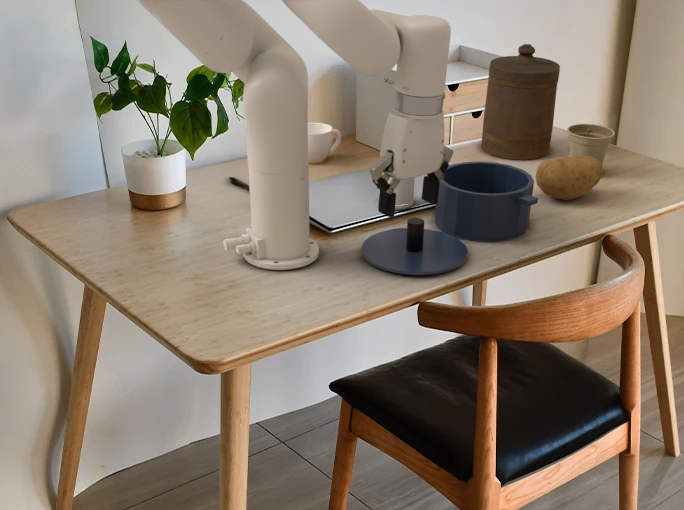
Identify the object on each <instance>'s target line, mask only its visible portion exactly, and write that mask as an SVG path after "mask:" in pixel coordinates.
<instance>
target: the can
mask: <svg viewBox="0 0 684 510" xmlns="http://www.w3.org/2000/svg"><path fill="white" fill-rule="evenodd" d="M379 151H380V153H379V155H380V154H381V150H379ZM393 173H396V171H394V172H393ZM383 174H384V173H382V175H383ZM392 179H393V178H392V177H390V178H389V180H388V184H390V182H391V180H392ZM415 179H416V177H414V178H409V179H405V180H400V182H399V184H398V185H397V187H396V188H395V190H394V191H393V192H394V193H396V203H395V205H402V204H408V205H403V206H395V211H405V210H408V209H409V208H411V207H412V206H413V205H414V198H415V197H414V196H415ZM379 194H380V189H378V195H379ZM411 202H412V203H411ZM409 203H410V204H409Z"/></svg>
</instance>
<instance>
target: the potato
mask: <svg viewBox="0 0 684 510" xmlns="http://www.w3.org/2000/svg"><path fill="white" fill-rule="evenodd" d="M603 175H604V169H603V164H602V163H601V161H600V160H598V159H596V158H594V157H591V156H570V155H569V156H561V157H555V158H548V159H545V160H544V161H542V162H540V164H539V165H538V166H537V169H536V172H535V181H536V185H537V187H538V188H539V189H540V191H541V192H543V194H545V195H547V196H549V197H551V198H553V199H556V200H562V201H571V200H576V199H579V198H581V197H582V196H583V195H585V194H587V193H589V192H590V191H591V190H592V189H593V188H594V187H596V185H598V183H599V182H600V181H601V179H602V177H603Z"/></svg>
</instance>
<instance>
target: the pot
mask: <svg viewBox="0 0 684 510" xmlns="http://www.w3.org/2000/svg"><path fill="white" fill-rule="evenodd" d="M443 175H444V178H443V180H442V181H439V182H440V187H439V195H438V203H437V204H436V205H434V223H435V225H436V227H437V228H438V229H439V230H441V232H443V233H446V234H449V235H451V236H453V237H455V238H457V239H462V240H467V241H474V242H492V243H493V242H502V241H508V240H509V241H510V240H512V239H515V238H519V237H520V236H522V235H524V234H525V233H526V231H527V230H528V227H529V225H530V217H531V210H532V206H534V205H536V204H538V202H539V197H537V196H533V193H534V184H535V180H534V178H533V176H532V174H531V173H529V172H527V171H526V170H524V169H522V168H519V167H516V166H513V165H512V164H511V165H510V164H505V163H501V162H500V163H499V162H494V161H491V162H490V161H479V160H477V161H463V162H458V163H452V164H449V166H448V168H447V170H446V171H445V172H444V174H443Z"/></svg>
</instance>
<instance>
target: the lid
mask: <svg viewBox="0 0 684 510" xmlns="http://www.w3.org/2000/svg"><path fill="white" fill-rule="evenodd" d="M361 255H362V257H363V258H364V260H365V261H367V262H368V263H369V264H371V265H372V266H373V267H376V268H378V269H381V270H383V271H386V272H390V273H394V274H395V273H396V274H399V275H400V274H401V275H409V276H427V275H437V274H442V273H447V272H450V271H451V270H452V271H453V270H455V269H457V268H459V267H460V266H461V265H463V264H464V263H465V262H466V260H467V259H468V248H467V246H466V244H465V243H464V242H463V241H462V240H460V238H458V237H454V236H452V235H449V234H447V233H445V232H443V231H439V230H435V229H429V228H425V220H424V219H423V218H420V217H411V218H408V219H407V221H406V227H401V228H392V229H387V230H383V231H380V232H377V233H374V234H372V235H370V236H369V237H367V238H366V239H365V240H364V241H363V243H362V245H361Z"/></svg>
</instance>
